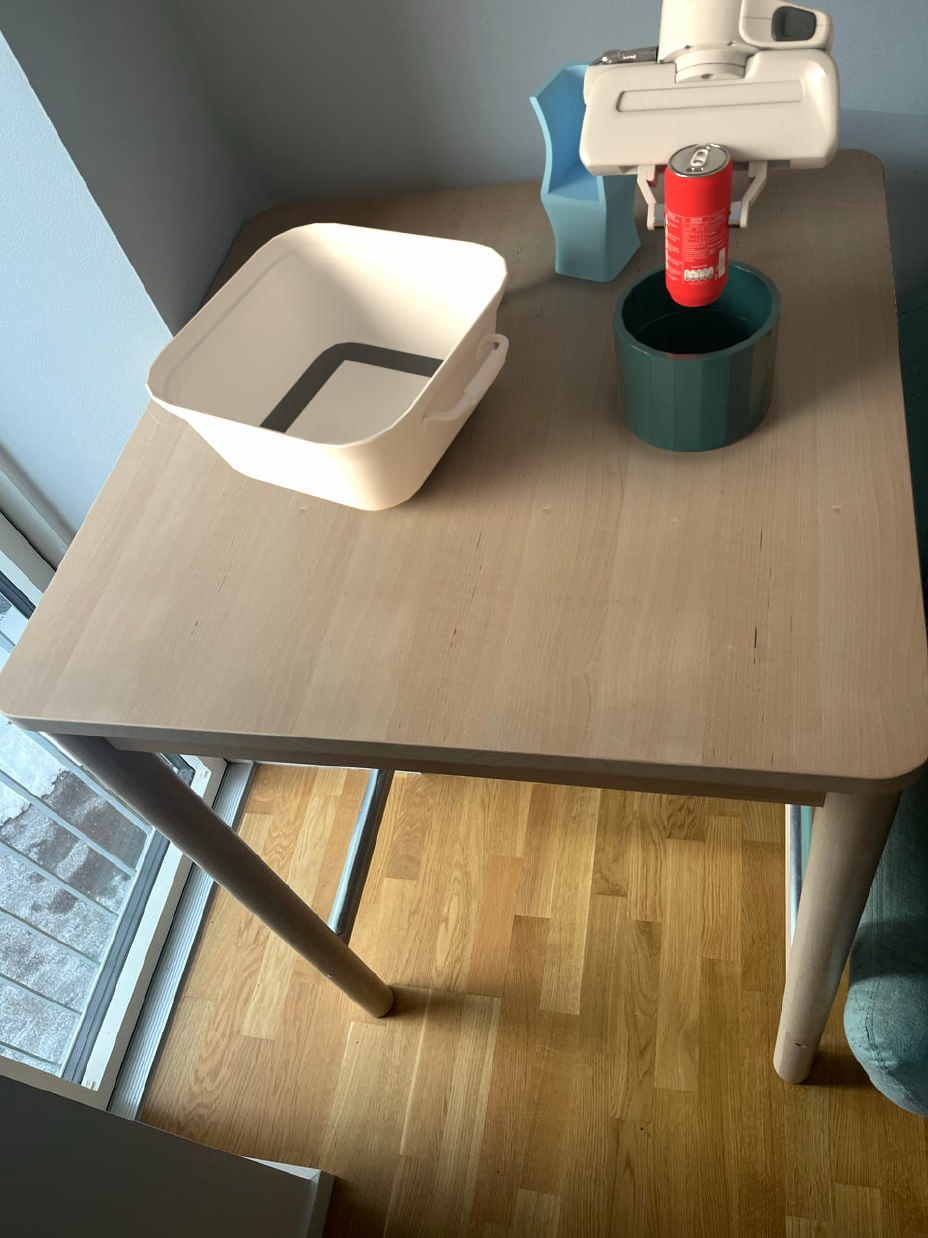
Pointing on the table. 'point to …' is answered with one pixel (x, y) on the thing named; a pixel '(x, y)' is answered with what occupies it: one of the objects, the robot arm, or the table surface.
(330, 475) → the white storage bin
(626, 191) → the vase
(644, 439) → the enamel pot
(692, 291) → the beverage can
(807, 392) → the table surface
